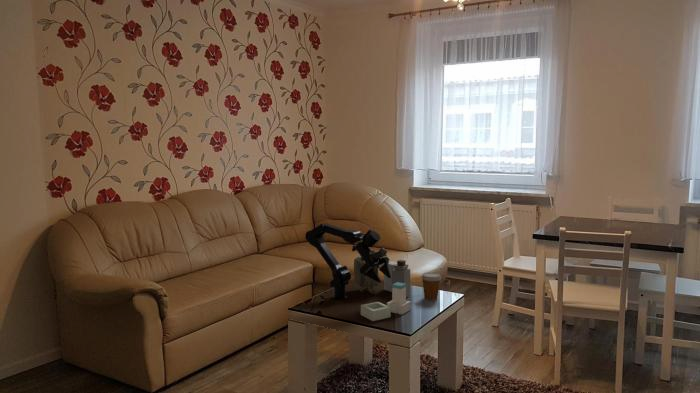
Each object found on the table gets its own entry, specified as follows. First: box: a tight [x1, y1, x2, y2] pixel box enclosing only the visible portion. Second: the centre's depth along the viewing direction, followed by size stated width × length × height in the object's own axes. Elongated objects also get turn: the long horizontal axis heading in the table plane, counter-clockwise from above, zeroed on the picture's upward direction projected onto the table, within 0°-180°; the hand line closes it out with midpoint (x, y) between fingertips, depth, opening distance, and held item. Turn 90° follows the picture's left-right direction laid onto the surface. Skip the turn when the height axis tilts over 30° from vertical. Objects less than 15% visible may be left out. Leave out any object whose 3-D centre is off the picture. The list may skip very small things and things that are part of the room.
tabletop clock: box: [353, 256, 379, 295], centre depth 261 cm, size 14×9×25 cm, turn 15°
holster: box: [386, 299, 412, 315], centre depth 233 cm, size 8×8×4 cm
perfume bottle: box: [392, 259, 411, 298], centre depth 255 cm, size 7×7×18 cm
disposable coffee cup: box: [421, 272, 442, 301], centre depth 251 cm, size 10×10×12 cm
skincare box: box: [383, 260, 397, 293], centre depth 264 cm, size 8×6×15 cm
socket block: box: [360, 301, 392, 322], centre depth 226 cm, size 10×10×4 cm
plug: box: [391, 282, 407, 305], centre depth 233 cm, size 5×5×12 cm
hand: (385, 279), depth 236 cm, fingers open, 9 cm apart
